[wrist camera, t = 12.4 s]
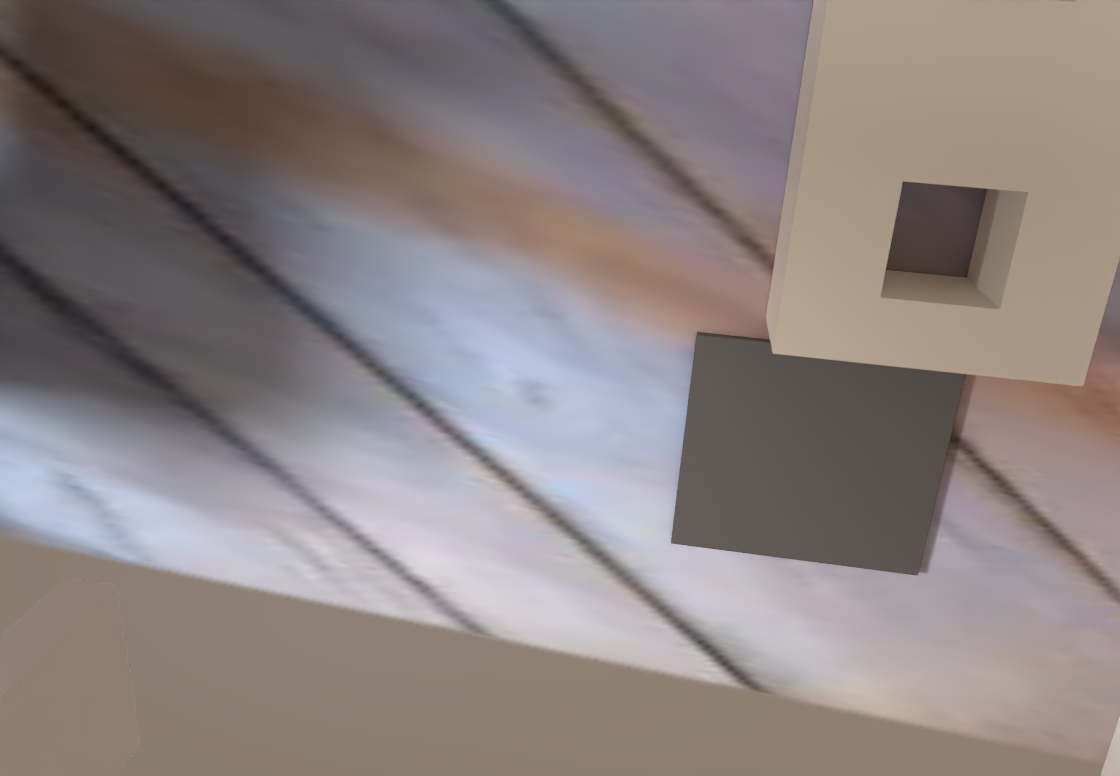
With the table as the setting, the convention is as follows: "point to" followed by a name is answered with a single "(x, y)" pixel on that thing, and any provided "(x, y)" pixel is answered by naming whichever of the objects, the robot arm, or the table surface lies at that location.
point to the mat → (811, 456)
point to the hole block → (954, 184)
